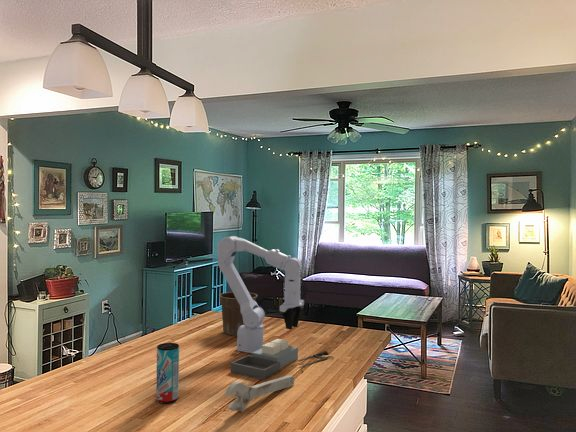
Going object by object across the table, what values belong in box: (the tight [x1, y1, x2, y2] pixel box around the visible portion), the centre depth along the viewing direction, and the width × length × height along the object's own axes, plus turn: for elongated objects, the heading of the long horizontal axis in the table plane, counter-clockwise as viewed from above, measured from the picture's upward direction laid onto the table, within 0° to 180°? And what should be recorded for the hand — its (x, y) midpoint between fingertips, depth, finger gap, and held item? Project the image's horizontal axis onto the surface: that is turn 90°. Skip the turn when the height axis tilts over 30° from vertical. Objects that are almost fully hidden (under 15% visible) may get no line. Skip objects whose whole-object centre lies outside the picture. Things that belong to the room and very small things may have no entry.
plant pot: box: [218, 291, 259, 337], centre depth 200 cm, size 16×16×16 cm
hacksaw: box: [287, 350, 335, 374], centre depth 162 cm, size 24×10×2 cm, turn 132°
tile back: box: [270, 338, 289, 351], centre depth 165 cm, size 4×4×2 cm
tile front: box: [262, 341, 280, 355], centre depth 160 cm, size 4×4×2 cm
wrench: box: [224, 374, 296, 413], centre depth 131 cm, size 8×2×30 cm
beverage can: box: [155, 342, 180, 404], centre depth 129 cm, size 6×6×15 cm
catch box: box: [230, 354, 281, 381], centre depth 152 cm, size 13×10×3 cm
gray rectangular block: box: [251, 345, 299, 369], centre depth 163 cm, size 10×14×4 cm
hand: (291, 327), depth 172 cm, fingers open, 3 cm apart
